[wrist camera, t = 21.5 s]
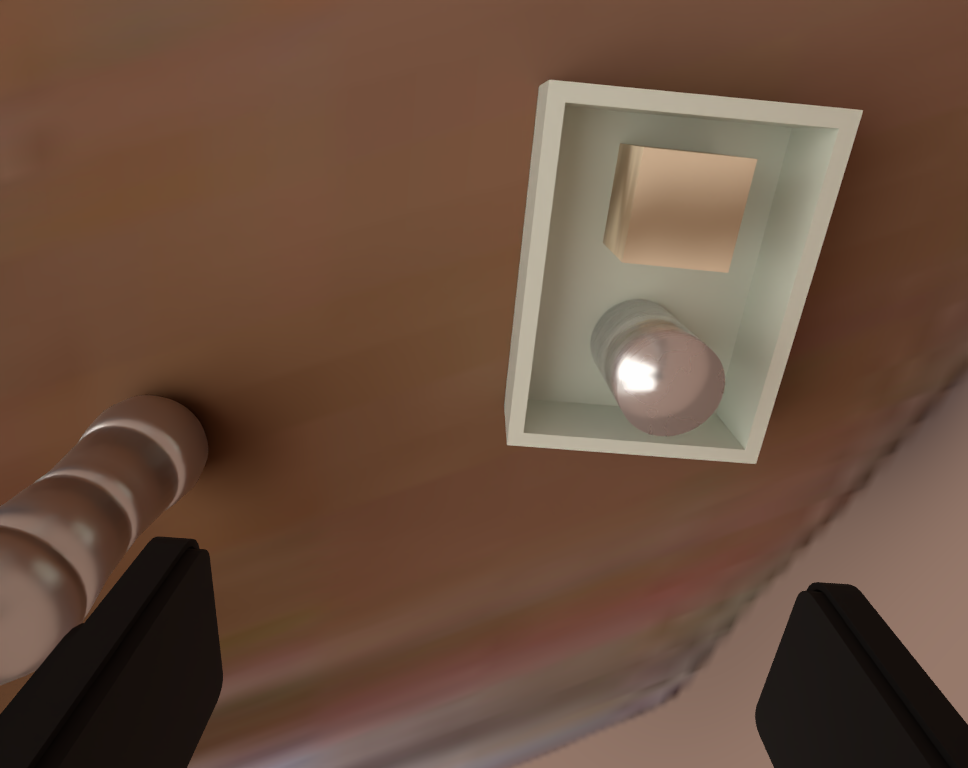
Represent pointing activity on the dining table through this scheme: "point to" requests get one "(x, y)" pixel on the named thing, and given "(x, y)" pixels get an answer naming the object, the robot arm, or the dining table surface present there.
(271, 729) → the dining table surface
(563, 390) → the tote
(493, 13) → the dining table surface
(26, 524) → the plastic bottle
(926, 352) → the dining table surface
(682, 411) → the steel cylinder
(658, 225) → the maple cube
